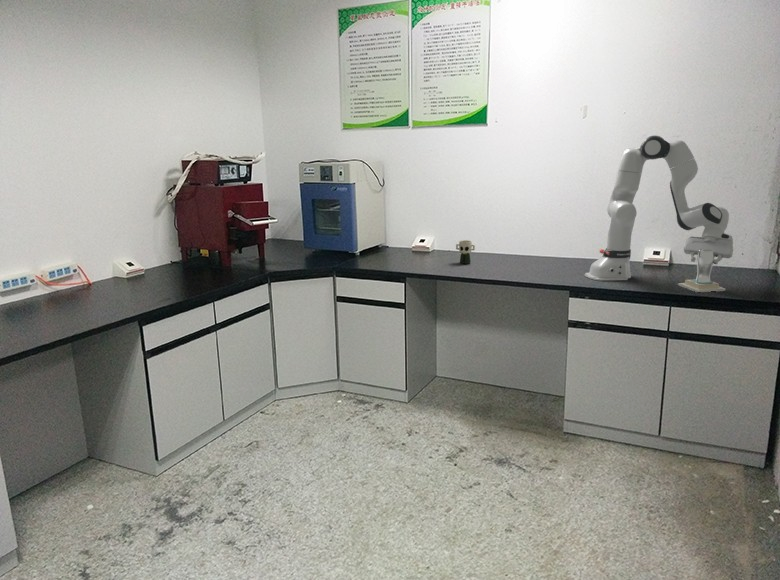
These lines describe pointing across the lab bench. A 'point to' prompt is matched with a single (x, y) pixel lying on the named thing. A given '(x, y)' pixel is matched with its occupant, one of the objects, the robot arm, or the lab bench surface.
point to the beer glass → (704, 265)
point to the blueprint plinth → (701, 286)
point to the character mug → (465, 250)
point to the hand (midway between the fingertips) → (703, 262)
